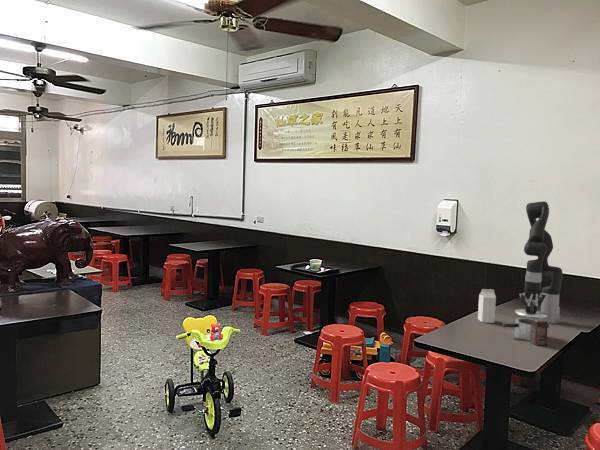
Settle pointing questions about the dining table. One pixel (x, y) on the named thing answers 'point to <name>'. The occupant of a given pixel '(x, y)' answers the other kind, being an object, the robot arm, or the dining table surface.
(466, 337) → the dining table surface
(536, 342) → the box
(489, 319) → the milk carton
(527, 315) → the lid
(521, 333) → the pot
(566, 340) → the dining table surface
